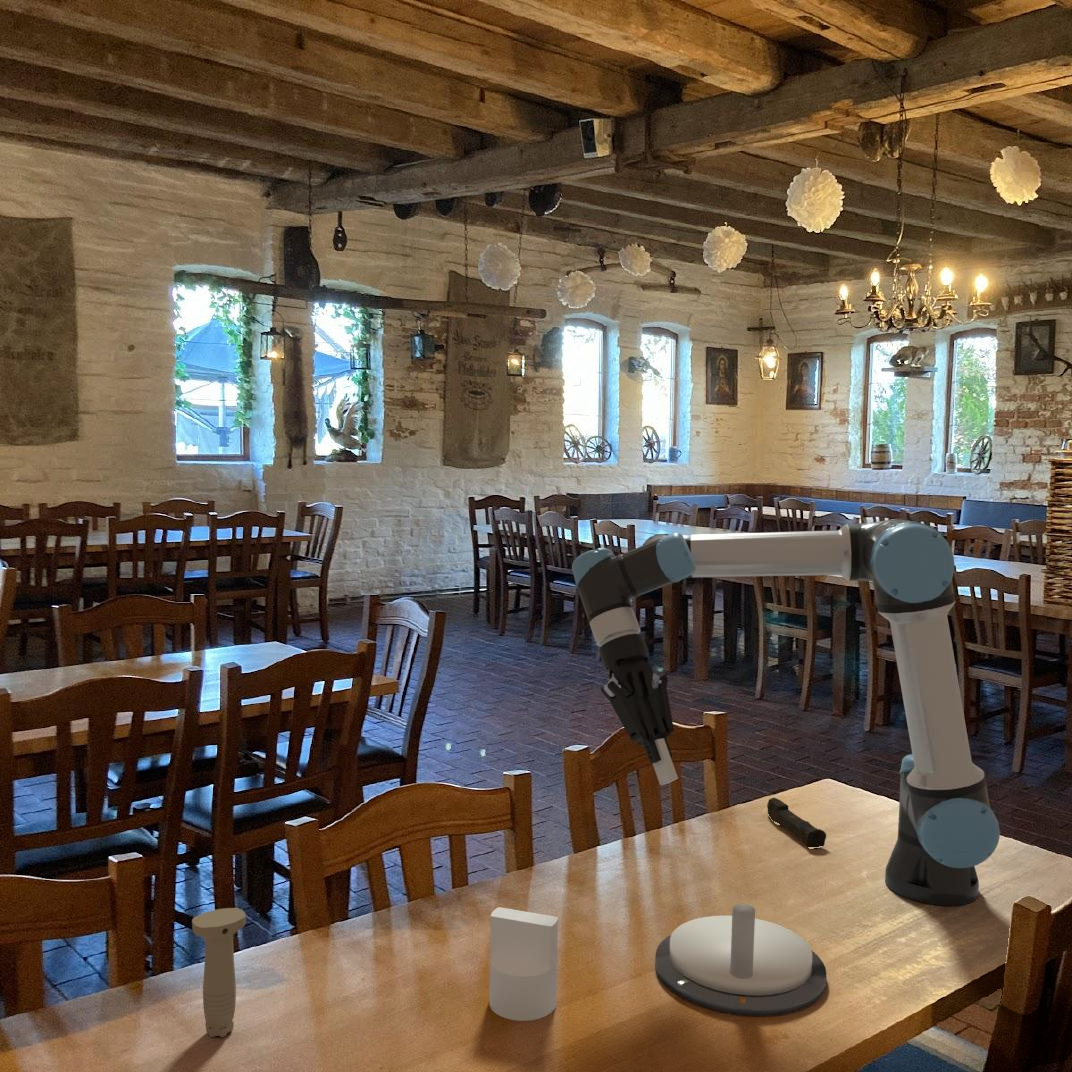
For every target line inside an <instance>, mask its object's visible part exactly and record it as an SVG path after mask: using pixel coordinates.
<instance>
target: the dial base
mask: <svg viewBox="0 0 1072 1072" xmlns="http://www.w3.org/2000/svg"><path fill="white" fill-rule="evenodd" d="M671 935H672V933H671V934H670V935H668V936H667V937H666V936H665V938H663V940H662V941H661V942H660V943H659V945H658V946H657V948H656V949H655V959H654V960H655V961H654V962H655V963H654V966H655V968H654V969H655V972H656V975H657V977H658V979H659V980H660V982H661V983H662V984H663V985H664V986H665V987H666V988H667V989H668V990H669V989H670V990H669V991H671V992H672V993H673V994H675V995H677V996H678V997H679V998H681V997H682V998H681V999H683V1000H685V1001H687V1002H688V1003H692V1004H694V1005H697V1006H698V1005H699V1007H702V1008H704V1007H705V1009H707V1008H708V1010H710V1009H712V1010H711V1011H714V1010H716V1011H715V1012H719V1013H723V1014H728V1015H734V1016H735V1015H736V1016H743V1017H775V1016H783V1015H784V1016H785V1015H787V1014H788V1015H789V1014H793V1013H796V1012H800V1011H802V1010H806V1009H807V1008H809V1007H811V1006H813V1005H814V1004H815V1003H817V1002H818V1001H819V1000H820V999H821V998H822V996H823V995H825V991H826V987H827V986H826V985H827V969H826V966H825V964H824V962H823V961H822V959H821V958H820V957H819V955H817V953H816V952H814V951H813V950H812V949H811V951H812V972H811V976H810V977H809V979H808V980H807V981H806V982H805V983H804V984H803V985H801V986H800V987H798V988H796V989H794V990H791V991H788V992H784V993H780V994H773V995H762V996H751V995H739V994H732V993H727V992H722V991H718V990H714V989H711V988H708V987H705V986H702V985H700V984H698V983H696V982H694V981H692V980H690V979H688V978H687V977H685V976H684V975H682V974H681V973H680V972H679V971H678V970H677V969H676V968H675V967H674V966H673V964H672V962H671V960H670V937H671Z"/></svg>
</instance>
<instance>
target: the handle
mask: <svg viewBox="0 0 1072 1072" xmlns="http://www.w3.org/2000/svg"><path fill="white" fill-rule="evenodd" d="M246 915H247V914H246V912H245V911H244V910H243V909H241V908H237V907H226V908H218V909H213V910H209V911H205V912H203V913H200V914H199V915H197V916H196V915H195V916H194V917H193V918H192V920H191V925H192V926H191V927H192V932H193V934H195V935H196V936H197V937H199V938H202V939H204V942H205V943H204V944H205V946H204V949H205V950H204V966H203V967H204V968H203V981H202V982H203V983H202V984H203V985H202V1003H203V1013H204V1019H205V1024H204V1025H205V1031H206V1034H208V1036H209V1037H210V1038H212V1037H213V1038H216V1037H215V1036H220V1037H219V1038H221V1037H222V1038H225V1037H226V1036H227V1035H228V1034H229V1033H228V1032H230V1031H232V1032H233V1030H234V1023H235V1021H234V1017H235V1012H236V1000H237V984H236V983H237V982H236V981H237V980H236V969H235V956H234V955H235V953H234V935H235V934H236V933H237V932H238V931H239V930H241V929H242V928H244V927H245V925H246V922H247V921H246V920H247V918H246ZM227 1033H228V1034H227ZM230 1033H231V1032H230ZM226 1034H227V1035H226ZM224 1036H225V1037H224Z"/></svg>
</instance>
